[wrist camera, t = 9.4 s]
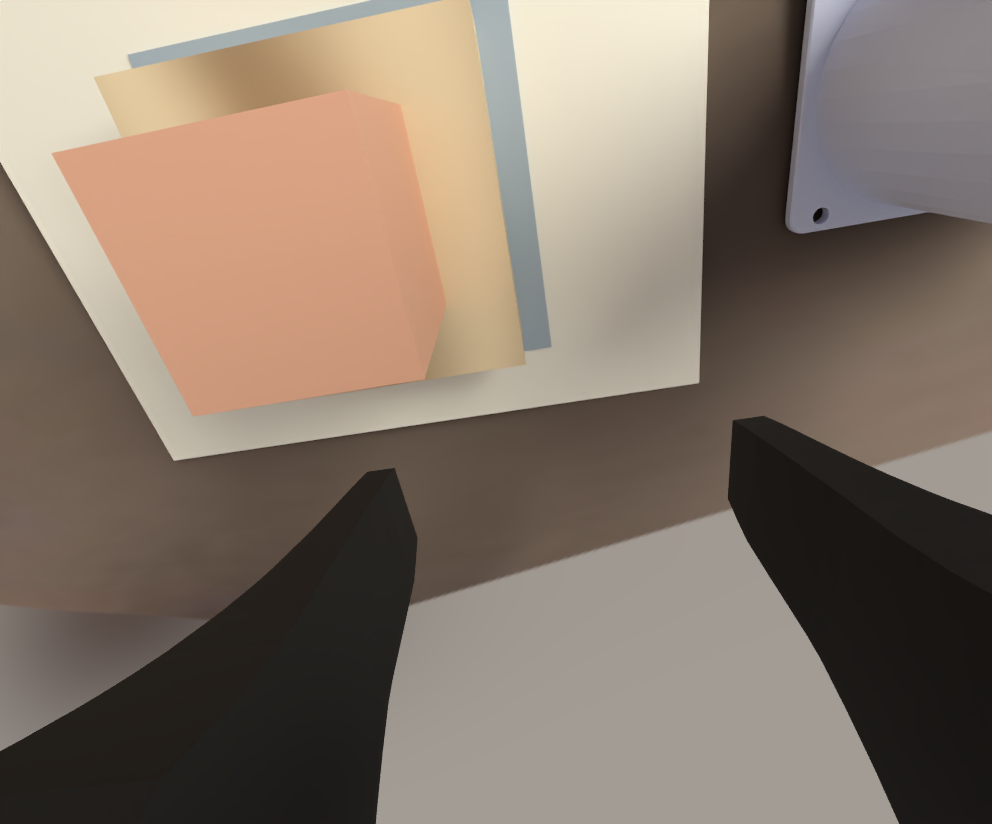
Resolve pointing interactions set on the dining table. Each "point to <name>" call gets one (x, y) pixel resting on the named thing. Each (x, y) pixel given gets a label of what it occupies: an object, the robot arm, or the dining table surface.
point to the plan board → (522, 178)
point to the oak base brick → (431, 132)
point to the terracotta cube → (271, 248)
